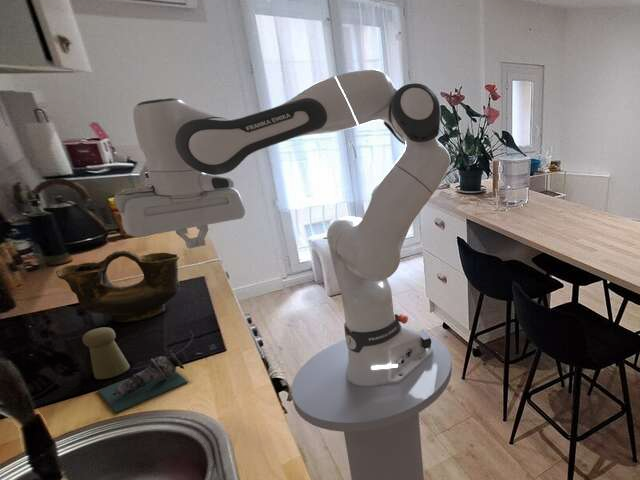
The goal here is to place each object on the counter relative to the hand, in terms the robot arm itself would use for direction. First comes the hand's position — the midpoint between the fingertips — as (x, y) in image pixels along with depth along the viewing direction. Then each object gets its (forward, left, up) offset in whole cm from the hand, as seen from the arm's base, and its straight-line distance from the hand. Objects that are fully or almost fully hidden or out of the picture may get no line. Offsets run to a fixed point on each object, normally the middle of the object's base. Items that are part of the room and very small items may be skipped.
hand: (196, 246), depth 88 cm
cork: (+16, -20, -31) cm, 40 cm away
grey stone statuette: (+7, -6, -27) cm, 28 cm away
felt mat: (+14, -7, -31) cm, 35 cm away
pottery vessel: (+3, -49, -31) cm, 58 cm away
